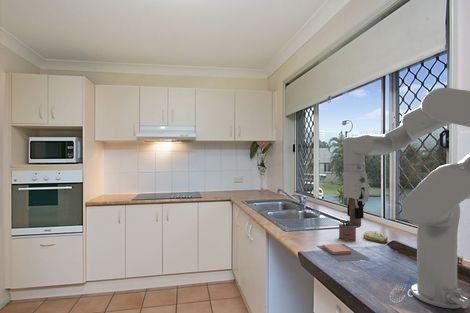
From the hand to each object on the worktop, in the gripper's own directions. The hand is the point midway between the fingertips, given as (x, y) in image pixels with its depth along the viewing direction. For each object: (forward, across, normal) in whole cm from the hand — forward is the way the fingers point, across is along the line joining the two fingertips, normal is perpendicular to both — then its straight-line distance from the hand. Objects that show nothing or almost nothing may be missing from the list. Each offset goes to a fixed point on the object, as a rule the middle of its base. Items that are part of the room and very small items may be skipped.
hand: (355, 216), depth 102 cm
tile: (+17, +16, -5) cm, 24 cm away
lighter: (+18, +30, -15) cm, 38 cm away
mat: (+18, +13, -2) cm, 23 cm away
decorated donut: (+19, +28, -29) cm, 44 cm away
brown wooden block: (+3, 0, 0) cm, 3 cm away
